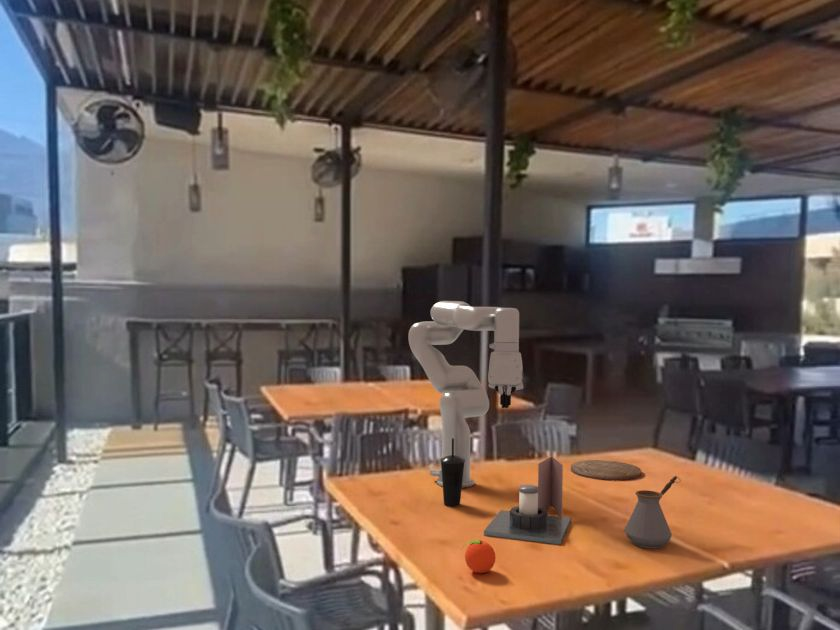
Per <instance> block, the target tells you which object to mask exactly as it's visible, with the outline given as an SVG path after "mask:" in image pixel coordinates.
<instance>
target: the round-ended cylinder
mask: <svg viewBox="0 0 840 630" xmlns="http://www.w3.org/2000/svg"><path fill="white" fill-rule="evenodd" d="M518 488H519V489H518V491H519V493H518V494H519V497H518V498H519V500H518V501H519V502H518V503H519V505H518V506H519V513H520V514H524V515H538V492H539V488H538V485H533V484H522V485H519V486H518Z"/></svg>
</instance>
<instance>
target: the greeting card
mask: <svg viewBox="0 0 840 630" xmlns="http://www.w3.org/2000/svg"><path fill="white" fill-rule="evenodd" d="M537 465H538V467H537V468H538V470H537V471H538V472H537V473H538V474H537V475H538V477H537V487H538V488H539V492H538V507H539V508H543V509H545V510H546V511H547V509H549V508H550V507H551V508H552V507H553V508H554V509H555V510H554V509H553V508H552V509H553V510H554V511H555V512H556V513H557V514H558V516H559V517H563V479H564V477H563V475H564V474H563V473H564V472H563V471H564V467H563V464H562V463H561V462H560V461H558V460H557V459H556V458H554V456H550V457H548V458H547V459H544V460H543V461H541V462H538V464H537Z"/></svg>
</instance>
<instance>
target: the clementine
mask: <svg viewBox="0 0 840 630" xmlns="http://www.w3.org/2000/svg"><path fill="white" fill-rule="evenodd" d="M467 544H469V545H468V546H467V547H466V550H465V554H464V559H465V564H466V566H467V567H468V568H469V569H470V571H472V572H474V573H476V574H485V573H487V572H489V571H490V570H492V569H493V567H494V565H495V563H496V559H497V557H496V552H495V550H494V548H493V546H492V545H491V544H490V543H488V542H487V541H483V540H471V541H468V542H465V545H467ZM462 549H464V546H462V548H461V551H462Z"/></svg>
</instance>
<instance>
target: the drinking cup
mask: <svg viewBox="0 0 840 630" xmlns="http://www.w3.org/2000/svg"><path fill="white" fill-rule="evenodd" d="M439 462H440V467H441V468H440V469H441V470H442V484H443V486H442V492H443V493H442V496H443V505H444V506H446V507H450V508H451V507H453V508H454V507H456V508H457V507H460V505H461V497H462V489H463V488H462V480H463V470H464V463H465V459H463V458H461V457H459V456H456V455H454V439H453V438H452V455H449V456H445V457H443V458H442V457H441V458H440V459H439Z"/></svg>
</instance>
